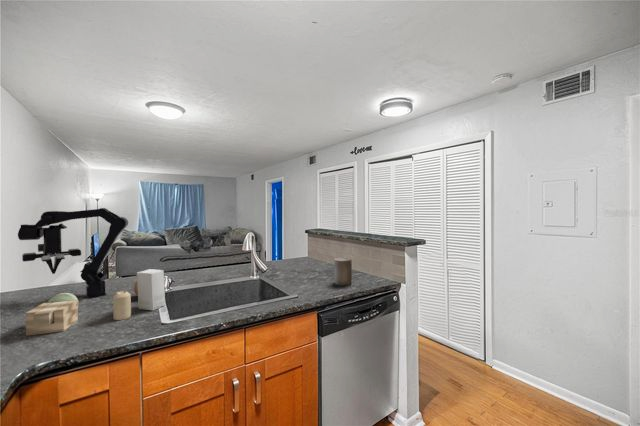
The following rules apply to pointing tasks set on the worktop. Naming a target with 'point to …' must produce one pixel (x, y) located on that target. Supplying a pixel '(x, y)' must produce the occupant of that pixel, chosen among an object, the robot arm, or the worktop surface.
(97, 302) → the worktop surface
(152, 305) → the skincare box
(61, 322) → the block
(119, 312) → the candle
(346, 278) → the pillar candle
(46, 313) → the plunger
